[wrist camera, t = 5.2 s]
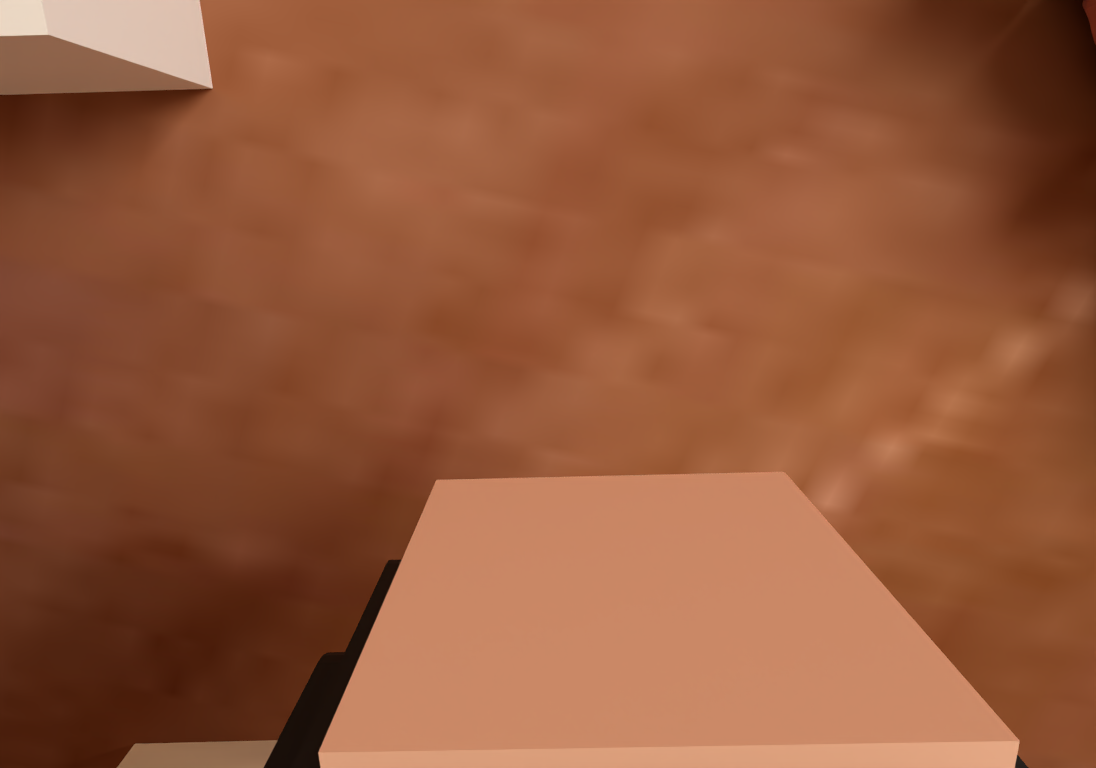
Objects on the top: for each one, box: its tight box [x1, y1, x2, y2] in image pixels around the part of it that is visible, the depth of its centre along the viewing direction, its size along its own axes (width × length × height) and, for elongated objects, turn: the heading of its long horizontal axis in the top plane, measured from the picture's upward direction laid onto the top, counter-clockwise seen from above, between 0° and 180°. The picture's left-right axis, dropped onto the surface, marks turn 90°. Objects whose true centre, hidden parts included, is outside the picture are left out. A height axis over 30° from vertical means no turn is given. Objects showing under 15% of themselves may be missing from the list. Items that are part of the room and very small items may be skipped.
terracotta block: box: [318, 472, 1019, 768], centre depth 8 cm, size 5×5×5 cm
